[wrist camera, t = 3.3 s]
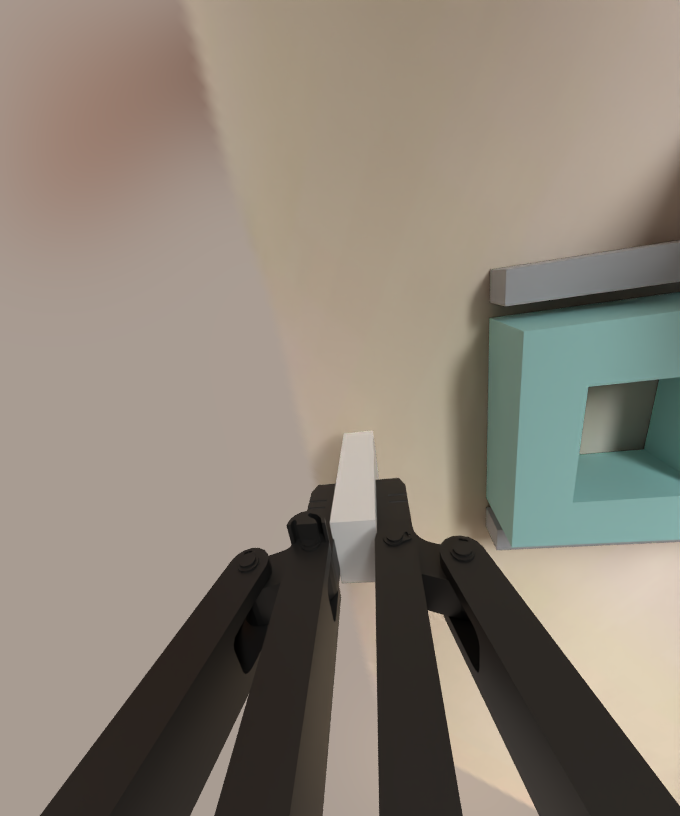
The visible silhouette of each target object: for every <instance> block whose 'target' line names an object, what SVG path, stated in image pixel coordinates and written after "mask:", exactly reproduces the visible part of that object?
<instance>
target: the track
mask: <svg viewBox="0 0 680 816" xmlns="http://www.w3.org/2000/svg"><path fill="white" fill-rule="evenodd" d="M674 282H680V240H676V241H670V242H664V243H657V244H651V245H644V246H638V247H632V248H625V249H619V250H612V251H606V252H600V253H593V254H587V255H581V256H574V257H568V258H561V259H555V260H549V261H542V262H536V263H530V264H523V265H517V266H510V267H504V268H498V269H491V270H490V303H494V304H498V305H502V306H511V305H519V304H526V303H533V302H540V301H547V300H554V299H561V298H568V297H575V296H582V295H589V294H596V293H603V292H610V291H618V290H625V289H632V288H639V287H646V286H653V285H660V284H667V283H674ZM486 528H487V530H488V532H489V534H490V536H491V539H492V541H493V543H494V545H495V547H496V550H512V549H533V548H555V547H577V546H598V545H620V544H642V543H663V542H680V540H660V541H639V542H617V543H596V544H575V545H553V546H532V547H511V545H510V543H509V541H508V539H507V537H506V535H505V533H504V531H503V529H502V527H501V525H500V523H499V522H498V520H497V518H496V516H495V514H494V512H493V510H492V508H491V507H486Z"/></svg>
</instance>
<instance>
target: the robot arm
mask: <svg viewBox="0 0 680 816" xmlns="http://www.w3.org/2000/svg"><path fill="white" fill-rule="evenodd" d="M287 529H288V533H289V536H290V540H291V544H292V545H291V547H290V548H288V549H287V550H284V551H282V552H279V553H276V554H273V555H270V556H268V554H267V553H266V552H265V550H263V549H260V548H251V549H248V550H245V551H243V552H241V553H240V554H238V555H237V556H236V557H235V558H234V559H233V560H232V561H231V562H230V564H229V565H228V566H227V568H226V569H225V570H224V572H223V573H222V574H221V576H220V577H219V578H218V580H217V581H216V582H215V584H214V585H213V586H212V588H211V589H210V590H209V592H208V593H207V595H206V596H205V597H204V598H203V599H202V601H201V602H200V603H199V605H198V606H197V607H196V609H195V610H194V612H193V613H192V614H191V615H190V617H189V618H188V619H187V621H186V622H185V623H184V625H183V626H182V627H181V629H180V630H179V631H178V633H177V634H176V636H175V637H174V638H173V639H172V641H171V642H170V643H169V645H168V646H167V647H166V649H165V650H164V652H163V653H162V654H161V656H160V657H159V658H158V659H157V661H156V662H155V663H154V665H153V666H152V667H151V669H150V670H149V671H148V673H147V674H146V675H145V677H144V678H143V679H142V681H141V682H140V683H139V685H138V686H137V687H136V689H135V690H134V691H133V693H132V694H131V695H130V697H129V698H128V699H127V701H126V702H125V703H124V705H123V706H122V707H121V709H120V710H119V711H118V712H117V714H116V715H115V716H114V718H113V719H112V720H111V722H110V723H109V724H108V726H107V727H106V728H105V730H104V731H103V732H102V734H101V735H100V737H99V738H98V739H97V741H96V742H95V743H94V744H93V746H92V747H91V748H90V750H89V751H88V752H87V754H86V755H85V756H84V758H83V759H82V760H81V762H80V763H79V764H78V766H77V767H76V768H75V770H74V771H73V772H72V774H71V775H70V776H69V778H68V779H67V780H66V782H65V783H64V784H63V786H62V787H61V789H60V790H59V791H58V792H57V794H56V795H55V796H54V798H53V799H52V800H51V802H50V803H49V804H48V806H47V807H46V808H45V810H44V811H43V812H42V814H41V815H40V816H190V815H191V812H192V810H193V808H194V806H195V804H196V802H197V800H198V798H199V796H200V794H201V792H202V790H203V788H204V785H205V783H206V781H207V779H208V777H209V775H210V773H211V771H212V769H213V767H214V765H215V763H216V761H217V759H218V757H219V754H220V752H221V750H222V748H223V746H224V744H225V742H226V740H227V738H228V736H229V734H230V732H231V729H232V727H233V725H234V723H235V721H236V719H237V717H238V715H239V713H240V711H241V709H242V707H243V705H244V703H245V701H246V698H247V696H248V694H249V696H248V699H247V703H246V706H245V710H244V713H243V717H242V721H241V724H240V728H239V732H238V735H237V738H236V742H235V745H234V749H233V753H232V756H231V759H230V763H229V766H228V770H227V773H226V777H225V780H224V784H223V787H222V791H221V794H220V798H219V801H218V805H217V809H216V812H215V815H214V816H322V814H323V803H324V792H325V780H326V768H327V756H328V743H329V732H330V721H331V709H332V697H333V685H334V673H335V662H336V650H337V637H338V626H339V614H340V602H341V594H340V589H339V579H340V577H341V582H342V583H362V582H375V588H376V647H377V706H378V762H379V763H378V766H379V816H463V815H462V809H461V803H460V797H459V792H458V785H457V780H456V774H455V768H454V762H453V756H452V750H451V744H450V739H449V733H448V727H447V721H446V715H445V709H444V703H443V698H442V692H441V686H440V680H439V674H438V668H437V662H436V657H435V651H434V645H433V639H432V633H431V627H430V621H429V616H428V610H429V611H433V612H436V613H440V614H443V615H444V618H445V620H446V622H447V624H448V626H449V628H450V630H451V632H452V634H453V637H454V639H455V641H456V643H457V645H458V647H459V649H460V651H461V653H462V655H463V657H464V660H465V662H466V664H467V666H468V668H469V670H470V672H471V674H472V676H473V678H474V680H475V683H476V685H477V687H478V689H479V691H480V693H481V695H482V697H483V699H484V701H485V703H486V705H487V708H488V710H489V712H490V714H491V716H492V718H493V720H494V722H495V724H496V726H497V728H498V731H499V733H500V735H501V737H502V739H503V741H504V743H505V745H506V747H507V749H508V751H509V754H510V756H511V758H512V760H513V762H514V764H515V766H516V768H517V770H518V772H519V774H520V776H521V779H522V781H523V783H524V785H525V787H526V789H527V791H528V793H529V795H530V797H531V799H532V802H533V804H534V806H535V808H536V810H537V812H538V814H539V816H680V806H679V805H678V803H677V802H676V801H675V799H674V798H673V797H672V795H671V794H670V793H669V791H668V790H667V789H666V787H665V786H664V785H663V784H662V782H661V781H660V780H659V778H658V777H657V776H656V774H655V773H654V772H653V770H652V769H651V768H650V766H649V765H648V764H647V762H646V761H645V760H644V758H643V757H642V756H641V755H640V753H639V752H638V751H637V749H636V748H635V747H634V745H633V744H632V743H631V741H630V740H629V739H628V737H627V736H626V735H625V733H624V732H623V731H622V729H621V728H620V727H619V726H618V724H617V723H616V722H615V720H614V719H613V718H612V716H611V715H610V714H609V712H608V711H607V710H606V708H605V707H604V706H603V704H602V703H601V702H600V700H599V699H598V698H597V697H596V695H595V694H594V693H593V691H592V690H591V689H590V687H589V686H588V685H587V683H586V682H585V681H584V679H583V678H582V677H581V675H580V674H579V673H578V671H577V670H576V669H575V668H574V666H573V665H572V664H571V662H570V661H569V660H568V658H567V657H566V656H565V654H564V653H563V652H562V650H561V649H560V648H559V646H558V645H557V644H556V642H555V641H554V640H553V639H552V637H551V636H550V635H549V633H548V632H547V631H546V629H545V628H544V627H543V625H542V624H541V623H540V621H539V620H538V619H537V617H536V616H535V615H534V613H533V612H532V611H531V610H530V608H529V607H528V606H527V604H526V603H525V602H524V600H523V599H522V598H521V596H520V595H519V594H518V592H517V591H516V590H515V588H514V587H513V586H512V584H511V583H510V582H509V581H508V579H507V578H506V577H505V575H504V574H503V573H502V571H501V570H500V569H499V567H498V566H497V565H496V563H495V562H494V561H493V559H492V558H491V557H490V555H489V554H488V553H487V552H486V550H485V549H484V548H483V546H482V545H480V544H479V543H478V542H477V541H475V540H473V539H471V538H469V537H464V536H452V537H450V538H447V539H445V540H444V541H443V542H442V543H441V545H440V544H435V543H431V542H428V541H425V540H423V539H421V538H420V537H419V536H418V535H416V533H415V532H414V530H413V527H412V522H411V516H410V511H409V505H408V499H407V493H406V487H405V484H404V483H403V482H402V481H401V480H400V479H399V478H393V479H380V480H379V474H378V466H377V458H376V450H375V442H374V434H373V430H372V431H362V432H352V433H344V436H343V442H342V448H341V454H340V461H339V467H338V473H337V479H336V484H327V485H318V486H317V487H316V488H315V490H314V491H313V492H312V494H311V497H310V503H309V505H308V510H307V511H305V512H301V513H299V514H297V515H295V516H294V517H293V518H291V519H290V521H289V522H288V524H287Z"/></svg>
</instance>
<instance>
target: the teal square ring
mask: <svg viewBox="0 0 680 816" xmlns="http://www.w3.org/2000/svg"><path fill="white" fill-rule="evenodd" d="M657 379H659V383H658V387H657V392H656V396H655V401H654V406H653V410H652V415H651V419H650V424H649V428H648V433H647V437H646V442H645V446H644V449H641V450H629V451H616V452H604V453H592V454H579V452H580V444H581V437H582V430H583V422H584V415H585V408H586V401H587V393H588V387H592V386H601V385H610V384H620V383H629V382H638V381H648V380H657ZM486 498H487V500H488V502H489V504H490V506H491V508H492V510H493V512H494V514H495V516H496V518H497V520H498V522H499V523H500V525H501V527H502V529H503V531H504V533H505V535H506V537H507V539H508V541H509V543H510V545H511V547H532V546H553V545H575V544H596V543H617V542H639V541H660V540H680V292H674V293H667V294H660V295H653V296H645V297H638V298H631V299H624V300H616V301H609V302H602V303H594V304H587V305H580V306H573V307H565V308H558V309H551V310H544V311H536V312H529V313H522V314H515V315H507V316H500V317H493V318H489V371H488V428H487V485H486Z"/></svg>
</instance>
